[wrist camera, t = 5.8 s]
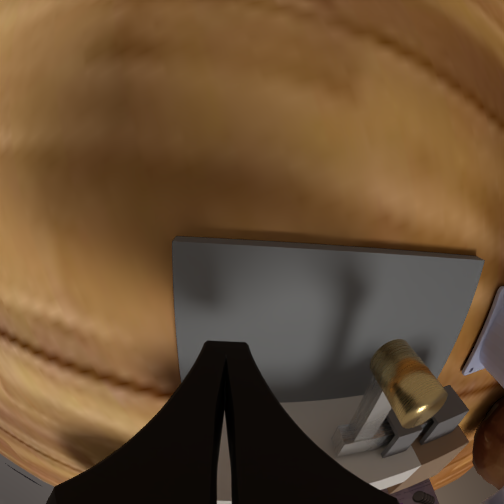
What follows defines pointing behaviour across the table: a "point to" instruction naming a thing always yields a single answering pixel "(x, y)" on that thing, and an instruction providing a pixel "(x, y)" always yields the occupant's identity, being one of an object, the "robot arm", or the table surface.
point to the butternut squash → (491, 446)
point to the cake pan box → (416, 494)
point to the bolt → (391, 400)
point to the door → (328, 335)
